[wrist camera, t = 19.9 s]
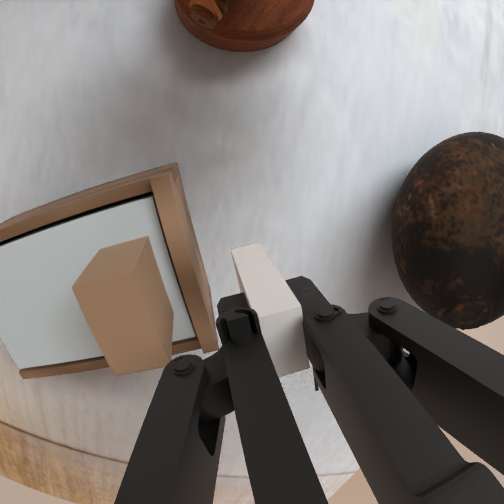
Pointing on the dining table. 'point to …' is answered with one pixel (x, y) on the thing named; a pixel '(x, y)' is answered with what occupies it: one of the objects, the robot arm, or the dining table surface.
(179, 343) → the box
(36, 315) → the lid
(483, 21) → the dining table surface
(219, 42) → the wooden bird figurine
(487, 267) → the glass bottle
